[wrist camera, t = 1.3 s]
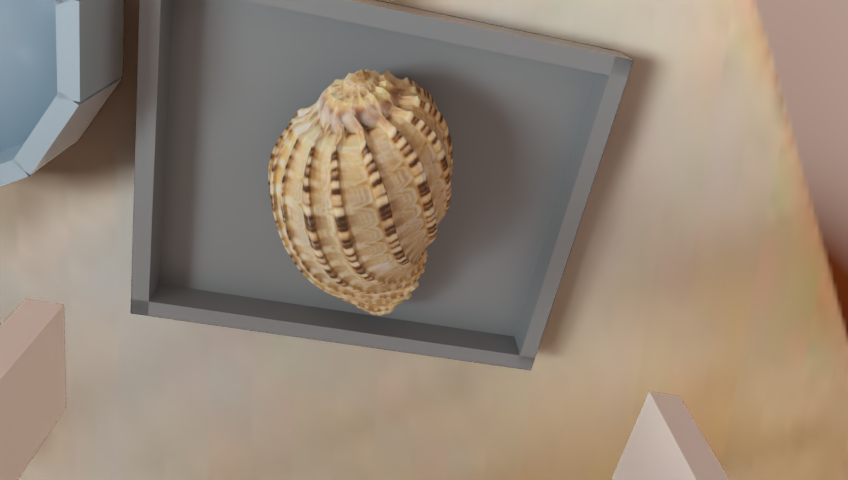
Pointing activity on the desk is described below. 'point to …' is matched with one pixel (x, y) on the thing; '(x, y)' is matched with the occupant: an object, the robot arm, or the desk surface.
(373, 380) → the desk surface
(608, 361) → the desk surface
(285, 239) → the seashell
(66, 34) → the bowl
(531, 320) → the tray
